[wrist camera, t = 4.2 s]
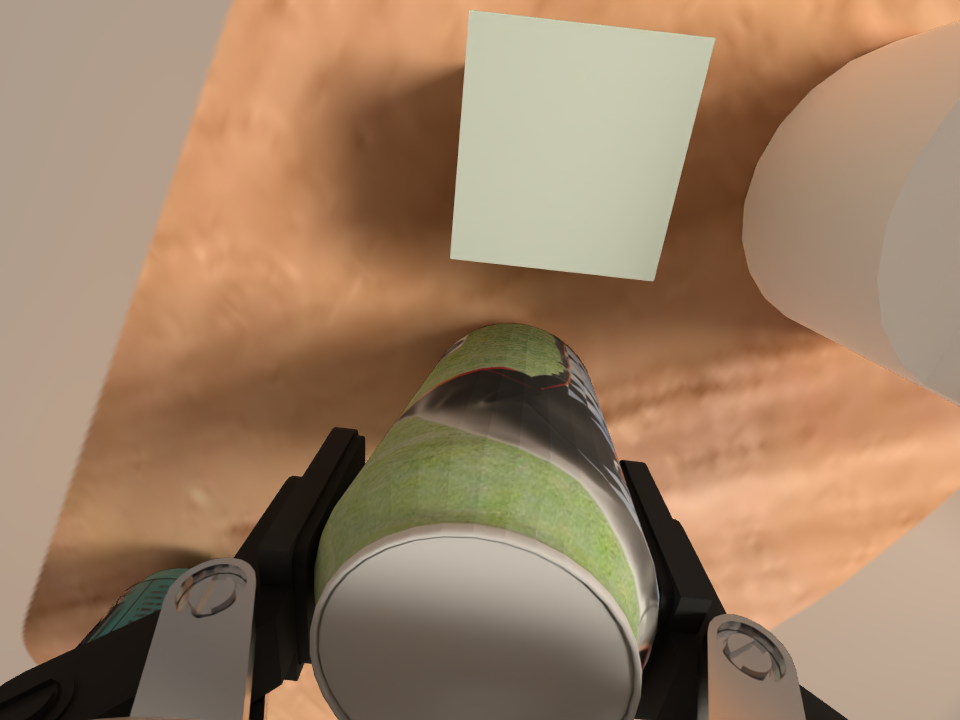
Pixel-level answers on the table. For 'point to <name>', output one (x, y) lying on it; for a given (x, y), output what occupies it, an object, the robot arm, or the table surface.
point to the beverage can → (488, 551)
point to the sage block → (572, 143)
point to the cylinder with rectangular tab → (870, 210)
